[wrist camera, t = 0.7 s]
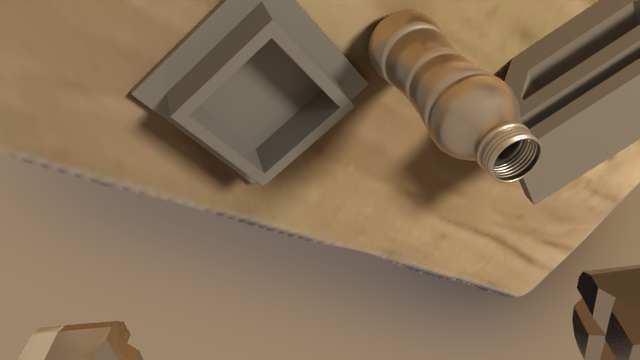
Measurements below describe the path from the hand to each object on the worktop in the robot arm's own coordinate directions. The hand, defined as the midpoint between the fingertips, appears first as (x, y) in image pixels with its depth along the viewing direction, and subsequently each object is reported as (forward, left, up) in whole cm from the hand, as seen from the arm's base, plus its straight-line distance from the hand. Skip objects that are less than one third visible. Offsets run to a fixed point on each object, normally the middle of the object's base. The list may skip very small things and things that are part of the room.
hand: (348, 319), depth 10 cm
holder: (+15, -6, -37) cm, 41 cm away
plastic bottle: (+21, +6, -38) cm, 43 cm away
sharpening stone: (+37, +19, -38) cm, 56 cm away
